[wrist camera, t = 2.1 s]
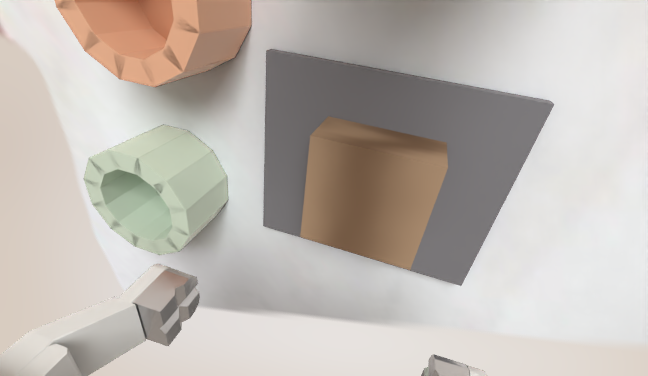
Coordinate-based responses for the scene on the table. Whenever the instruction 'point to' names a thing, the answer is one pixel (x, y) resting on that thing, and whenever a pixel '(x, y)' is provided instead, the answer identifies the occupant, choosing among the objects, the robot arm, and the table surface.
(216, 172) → the bowl sage
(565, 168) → the table surface
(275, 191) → the mat
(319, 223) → the cardboard box
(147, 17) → the bowl terracotta
